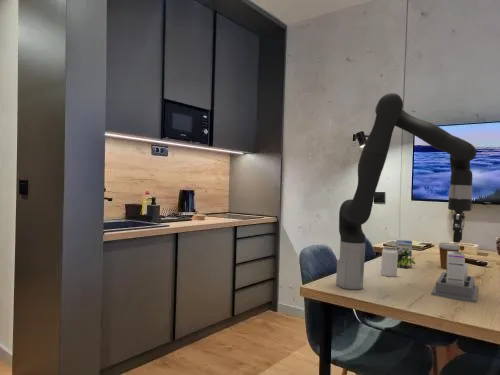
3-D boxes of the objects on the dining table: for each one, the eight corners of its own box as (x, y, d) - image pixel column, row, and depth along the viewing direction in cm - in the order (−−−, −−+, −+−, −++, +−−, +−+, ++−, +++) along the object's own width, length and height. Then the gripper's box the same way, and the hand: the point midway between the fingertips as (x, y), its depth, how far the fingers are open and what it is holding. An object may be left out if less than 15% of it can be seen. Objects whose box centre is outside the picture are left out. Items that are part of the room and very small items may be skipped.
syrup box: (464, 294, 137) (466, 254, 137) (445, 292, 139) (447, 252, 139) (462, 290, 142) (464, 252, 142) (444, 288, 145) (446, 250, 144)
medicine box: (397, 255, 217) (397, 240, 217) (395, 254, 222) (396, 239, 221) (411, 256, 216) (412, 241, 216) (409, 255, 220) (410, 240, 220)
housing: (475, 302, 131) (477, 268, 131) (431, 294, 139) (432, 262, 138) (477, 288, 151) (479, 258, 151) (439, 281, 159) (440, 253, 159)
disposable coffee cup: (454, 271, 180) (455, 246, 180) (433, 267, 187) (435, 243, 187) (462, 269, 187) (463, 245, 186) (442, 265, 194) (443, 242, 194)
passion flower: (395, 275, 191) (395, 253, 197) (418, 274, 185) (417, 252, 191) (389, 265, 183) (389, 243, 190) (413, 264, 178) (412, 242, 184)
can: (397, 277, 162) (399, 250, 162) (382, 276, 164) (383, 248, 164) (395, 274, 169) (396, 247, 169) (379, 273, 170) (381, 246, 170)
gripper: (450, 196, 148) (448, 238, 148) (446, 197, 136) (444, 242, 136) (472, 198, 144) (470, 240, 144) (470, 198, 132) (468, 244, 132)
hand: (457, 241), depth 140 cm, fingers open, 8 cm apart
